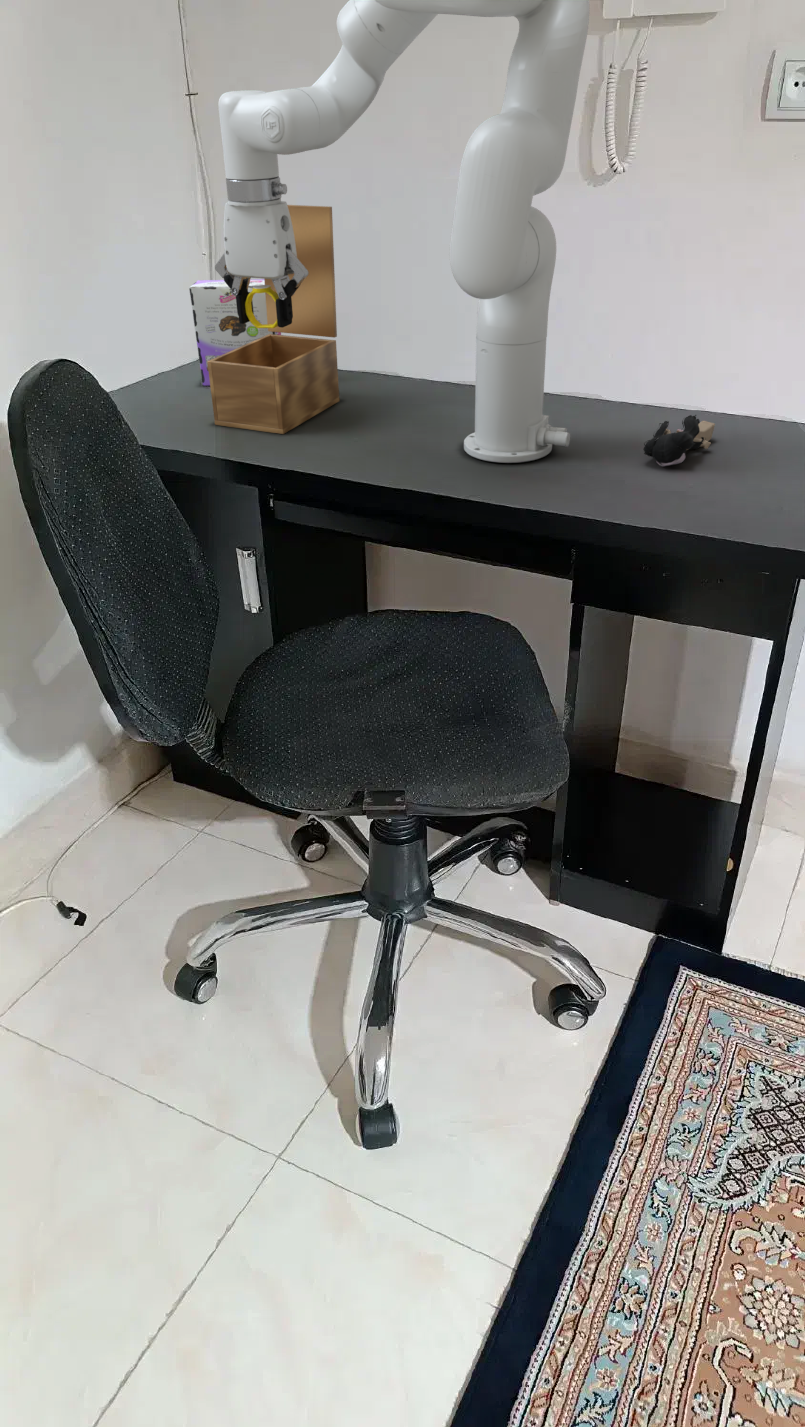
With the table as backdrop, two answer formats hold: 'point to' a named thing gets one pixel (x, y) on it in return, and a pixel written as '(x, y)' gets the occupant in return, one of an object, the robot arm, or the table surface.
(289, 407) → the chest
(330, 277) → the chest lid
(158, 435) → the table surface
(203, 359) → the candy box
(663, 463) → the toy figure
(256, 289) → the watch
